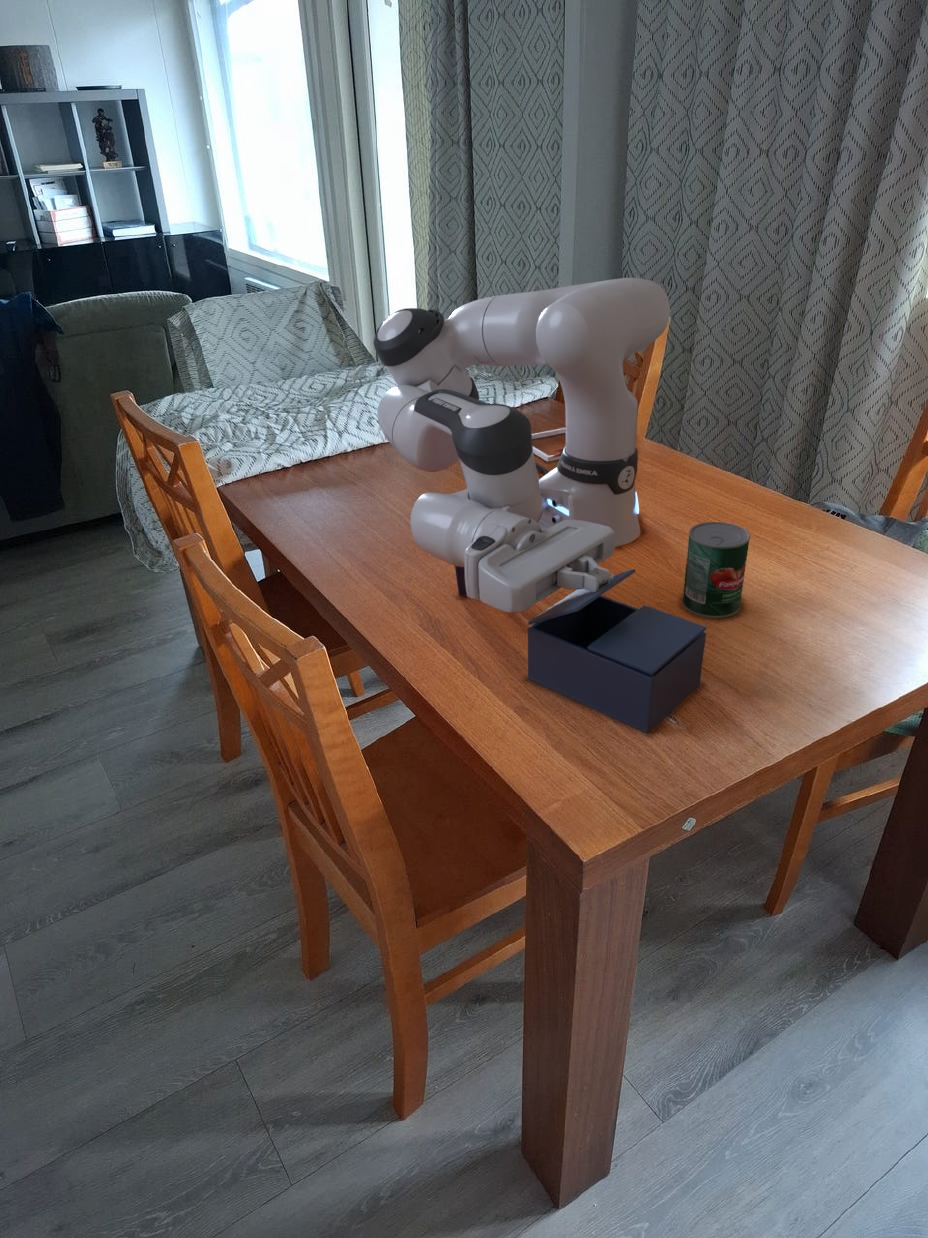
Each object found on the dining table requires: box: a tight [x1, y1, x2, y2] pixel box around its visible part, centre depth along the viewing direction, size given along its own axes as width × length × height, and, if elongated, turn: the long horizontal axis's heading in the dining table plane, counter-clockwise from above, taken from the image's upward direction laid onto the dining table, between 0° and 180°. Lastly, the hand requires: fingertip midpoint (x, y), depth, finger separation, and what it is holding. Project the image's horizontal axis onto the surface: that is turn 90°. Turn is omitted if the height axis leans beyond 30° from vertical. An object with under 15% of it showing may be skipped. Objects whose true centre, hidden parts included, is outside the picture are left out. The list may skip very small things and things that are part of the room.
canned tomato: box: [681, 521, 751, 619], centre depth 113 cm, size 8×8×11 cm
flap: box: [527, 568, 637, 626], centre depth 99 cm, size 8×12×1 cm
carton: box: [527, 595, 707, 734], centre depth 99 cm, size 17×12×8 cm
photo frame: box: [532, 427, 566, 462], centre depth 176 cm, size 15×1×18 cm
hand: (603, 581), depth 95 cm, fingers closed
